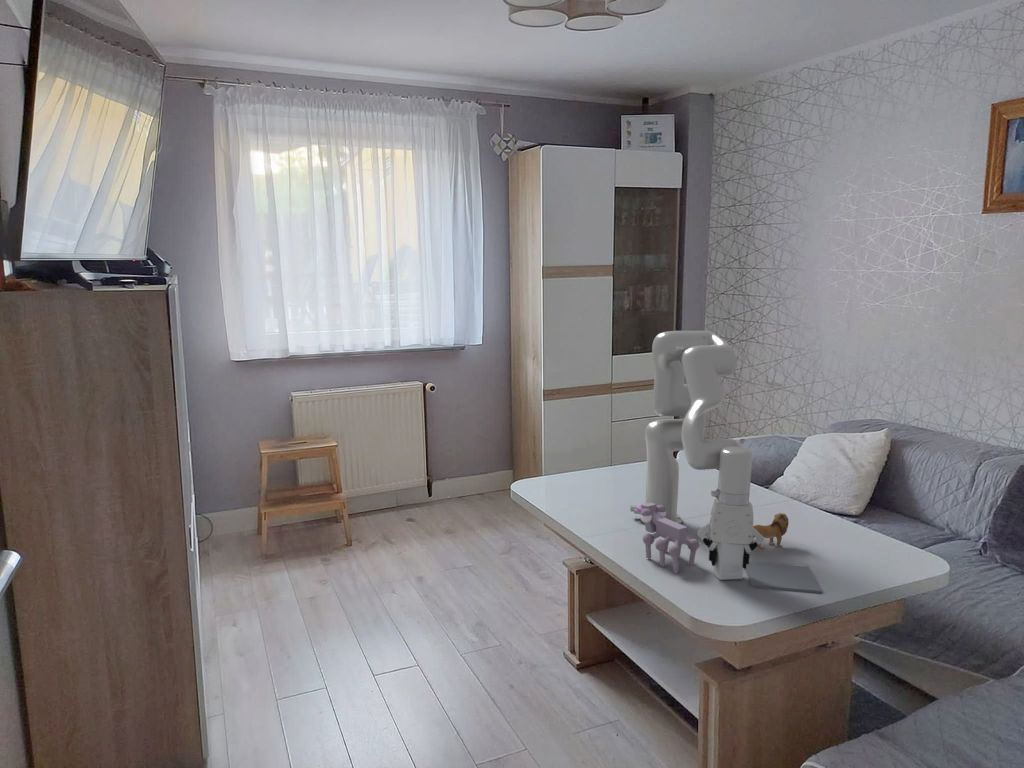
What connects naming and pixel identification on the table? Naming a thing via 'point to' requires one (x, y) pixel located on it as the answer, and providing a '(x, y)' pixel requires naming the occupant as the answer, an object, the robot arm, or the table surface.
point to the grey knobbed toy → (665, 534)
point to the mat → (782, 577)
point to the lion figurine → (774, 529)
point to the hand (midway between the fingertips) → (728, 564)
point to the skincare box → (729, 561)
